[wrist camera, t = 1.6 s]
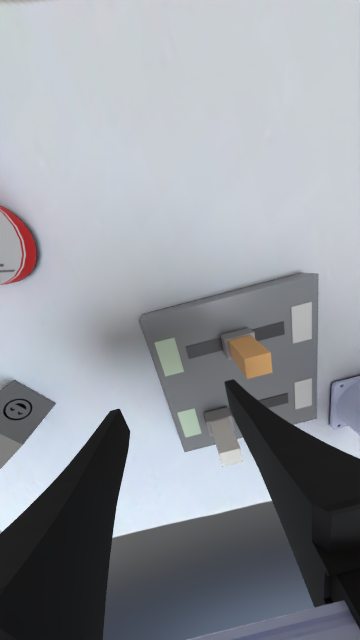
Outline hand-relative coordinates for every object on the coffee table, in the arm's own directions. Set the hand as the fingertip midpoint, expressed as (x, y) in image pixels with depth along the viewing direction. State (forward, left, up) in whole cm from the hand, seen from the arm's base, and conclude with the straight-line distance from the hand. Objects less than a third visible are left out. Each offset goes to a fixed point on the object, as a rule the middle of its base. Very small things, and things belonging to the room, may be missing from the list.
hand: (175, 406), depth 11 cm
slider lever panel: (-7, +5, -8) cm, 12 cm away
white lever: (-3, +9, -6) cm, 11 cm away
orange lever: (-6, 0, -6) cm, 9 cm away
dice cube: (+18, +3, -9) cm, 21 cm away
